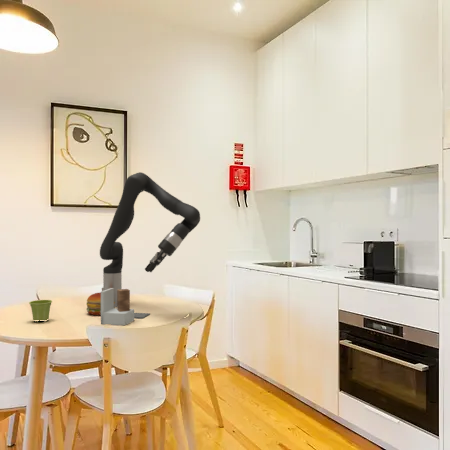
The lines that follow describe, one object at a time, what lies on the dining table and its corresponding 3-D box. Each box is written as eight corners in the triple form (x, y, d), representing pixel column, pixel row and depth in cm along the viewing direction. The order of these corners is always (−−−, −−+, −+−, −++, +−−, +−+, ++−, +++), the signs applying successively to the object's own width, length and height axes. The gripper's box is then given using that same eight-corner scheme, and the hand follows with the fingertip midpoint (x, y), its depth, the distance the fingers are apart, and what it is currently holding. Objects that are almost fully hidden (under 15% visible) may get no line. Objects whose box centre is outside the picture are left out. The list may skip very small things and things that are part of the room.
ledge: (100, 324, 192) (100, 291, 192) (111, 319, 202) (111, 288, 201) (124, 325, 190) (124, 292, 189) (134, 320, 199) (134, 288, 199)
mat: (124, 317, 205) (124, 316, 205) (131, 313, 213) (132, 312, 213) (142, 318, 203) (142, 317, 203) (149, 314, 212) (149, 313, 212)
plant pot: (38, 324, 191) (38, 304, 191) (24, 321, 196) (24, 302, 196) (56, 320, 199) (56, 301, 199) (43, 318, 204) (43, 299, 204)
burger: (84, 312, 218) (84, 291, 218) (112, 309, 223) (112, 289, 223) (87, 317, 206) (87, 295, 205) (117, 315, 211) (117, 293, 211)
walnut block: (119, 311, 194) (119, 290, 194) (117, 309, 198) (117, 289, 198) (129, 310, 196) (129, 290, 195) (127, 309, 200) (127, 288, 200)
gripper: (179, 248, 200) (156, 276, 195) (173, 249, 213) (151, 275, 209) (167, 237, 198) (143, 265, 194) (161, 239, 212) (139, 265, 208)
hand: (147, 271), depth 201 cm, fingers open, 8 cm apart
